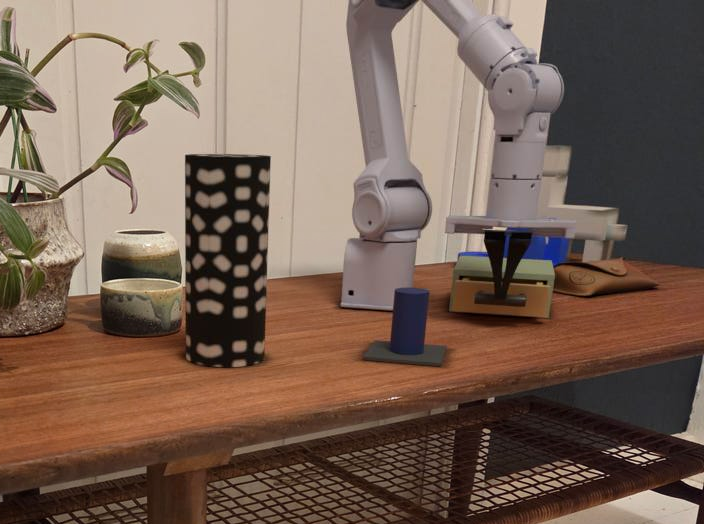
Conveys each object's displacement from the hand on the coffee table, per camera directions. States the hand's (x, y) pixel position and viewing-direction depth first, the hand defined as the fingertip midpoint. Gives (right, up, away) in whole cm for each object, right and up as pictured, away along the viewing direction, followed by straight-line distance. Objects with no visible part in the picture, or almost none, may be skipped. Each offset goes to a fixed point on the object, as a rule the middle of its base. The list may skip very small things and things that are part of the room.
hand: (500, 297), depth 106 cm
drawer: (+3, 0, +9) cm, 9 cm away
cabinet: (+5, +2, +15) cm, 16 cm away
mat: (-14, -9, -11) cm, 20 cm away
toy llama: (+29, +17, +53) cm, 63 cm away
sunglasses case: (+25, +7, +29) cm, 39 cm away
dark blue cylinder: (-14, -8, -12) cm, 20 cm away
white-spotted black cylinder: (-33, -9, -13) cm, 37 cm away
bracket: (+15, +14, +46) cm, 50 cm away
